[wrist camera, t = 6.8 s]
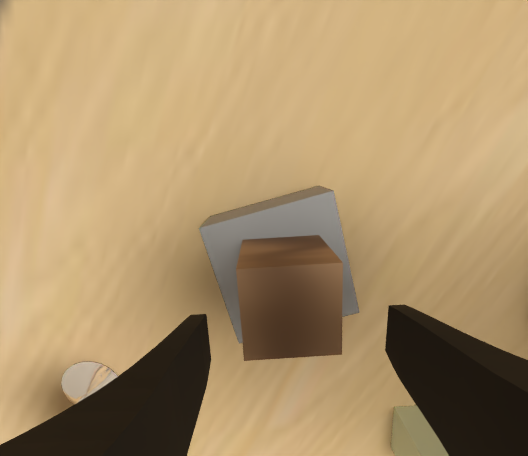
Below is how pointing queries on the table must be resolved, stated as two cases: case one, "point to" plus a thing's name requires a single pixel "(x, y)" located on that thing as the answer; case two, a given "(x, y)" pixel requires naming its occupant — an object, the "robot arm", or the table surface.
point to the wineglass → (85, 380)
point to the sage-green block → (414, 434)
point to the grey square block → (273, 226)
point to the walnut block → (289, 298)
